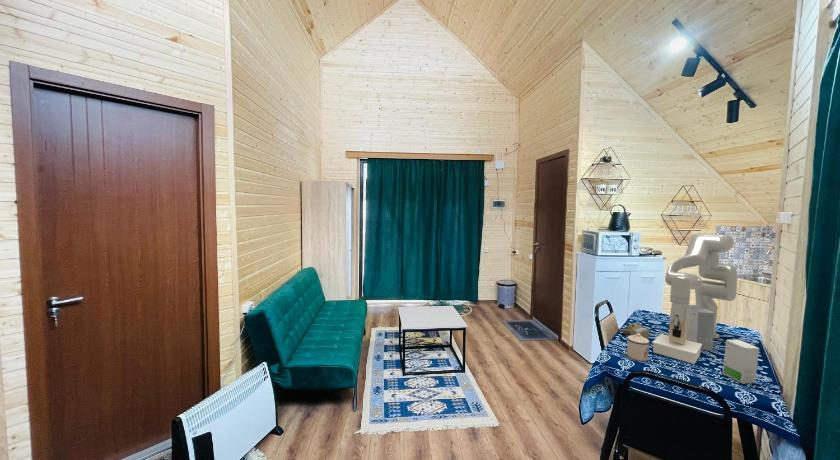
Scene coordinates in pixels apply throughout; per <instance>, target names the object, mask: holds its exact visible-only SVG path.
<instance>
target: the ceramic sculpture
mask: <svg viewBox="0 0 840 460" xmlns="http://www.w3.org/2000/svg"><path fill="white" fill-rule="evenodd" d="M618 330H619V331H620V332H621V333H623V334H624V335H629V336H631V335H636V333H639V334H641V336H642V337H644V338H646V339H648V340H649V337H650V334H651V330H650V328H644V327H643V326H642V324H641V323H639V322H635V323H634V322H633V323H629V324H628V325H627V328H622V329H621V328H618Z"/></svg>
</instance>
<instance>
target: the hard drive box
mask: <svg viewBox="0 0 840 460" xmlns="http://www.w3.org/2000/svg"><path fill="white" fill-rule="evenodd" d="M686 319H687V335H686V340H688V341H692V342H696V343H701V344H702V346H701V351H709V352H712V351H713V347H714V346H713V345H714V338H713V334H714V319H715V313H713V312H711V311H708V310H706V309H704V308H701V307H699V306H696V304H689V305H687V307H686Z"/></svg>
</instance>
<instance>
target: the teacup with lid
mask: <svg viewBox="0 0 840 460" xmlns="http://www.w3.org/2000/svg"><path fill="white" fill-rule="evenodd" d="M626 339H627V342H626V356H628V358H630V359H632V360H635V361H639V362H640V361H641V362H645V361H648V360H649V349H650V348H649V347H650V339H649V338H648V339H646V338H644V337H642V336H641V334H639V333H636V335H628V336H627V337H626Z"/></svg>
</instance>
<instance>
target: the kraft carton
mask: <svg viewBox="0 0 840 460" xmlns="http://www.w3.org/2000/svg"><path fill="white" fill-rule="evenodd" d="M673 323H674V320H673V322H670V321H669V329H668V330H669V331H668V336H669V341H673V342H677V343H681V344H685V342H686V335H687V319H685V320H684V321H683V324H681V328H680V330H681V337H680V338H678V337H674V336H672V332H673ZM678 323H680V322H678ZM678 326H679V325H678Z"/></svg>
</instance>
